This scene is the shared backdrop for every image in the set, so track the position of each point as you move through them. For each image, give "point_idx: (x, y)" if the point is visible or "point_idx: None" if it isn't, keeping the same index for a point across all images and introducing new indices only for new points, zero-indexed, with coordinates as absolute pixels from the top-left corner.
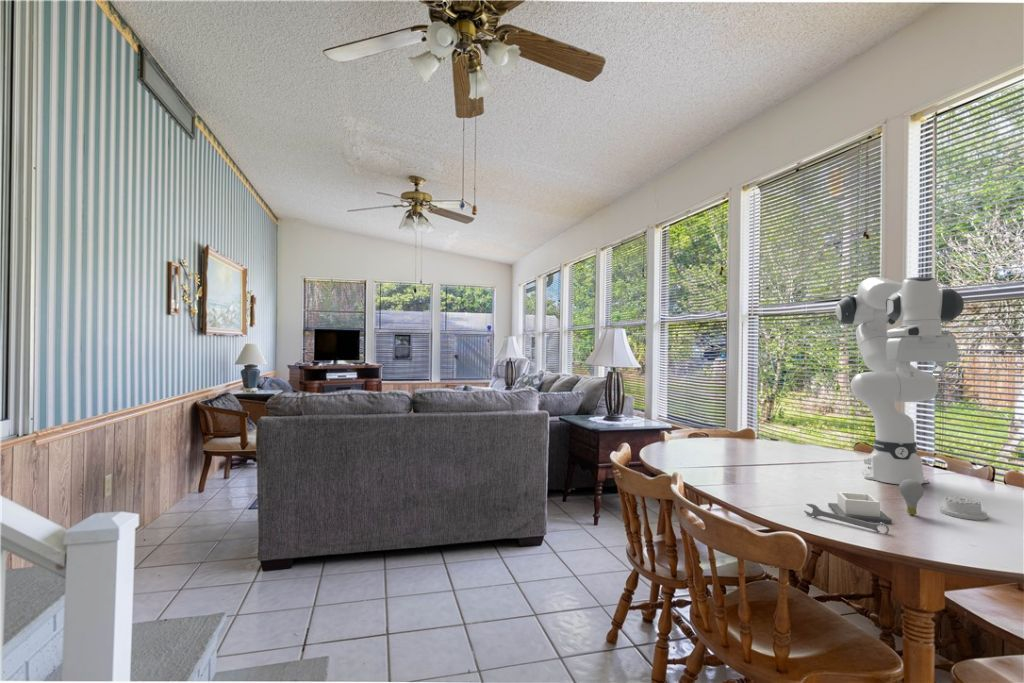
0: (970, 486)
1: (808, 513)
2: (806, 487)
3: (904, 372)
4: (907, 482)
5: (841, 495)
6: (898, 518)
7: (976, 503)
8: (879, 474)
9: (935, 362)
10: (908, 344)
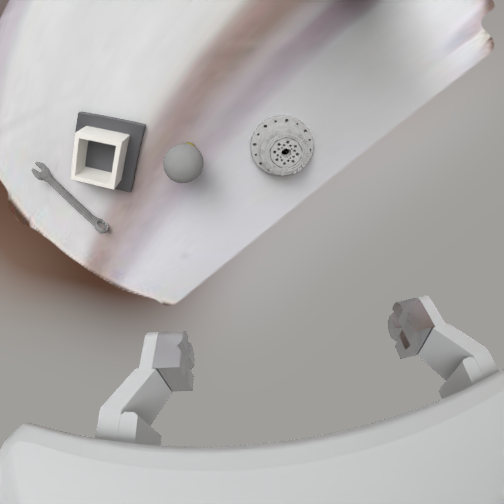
0: (440, 23)
1: (40, 167)
2: None
3: (142, 364)
4: (169, 175)
5: (73, 155)
6: (156, 165)
7: (292, 169)
8: None
9: (469, 380)
10: None
